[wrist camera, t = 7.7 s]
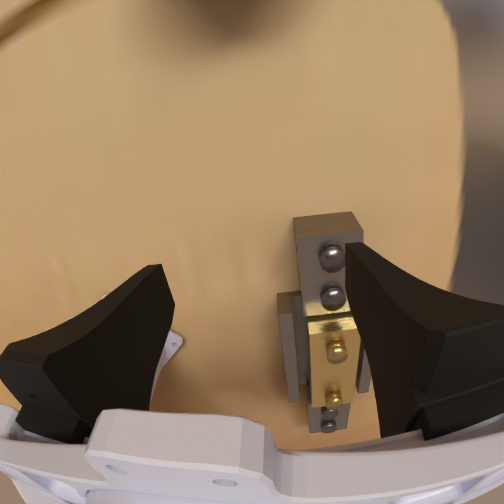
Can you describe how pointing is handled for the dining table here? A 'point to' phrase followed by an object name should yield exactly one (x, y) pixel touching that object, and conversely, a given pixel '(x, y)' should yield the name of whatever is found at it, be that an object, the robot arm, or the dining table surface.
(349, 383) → the brass link
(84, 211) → the dining table surface
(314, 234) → the chain
